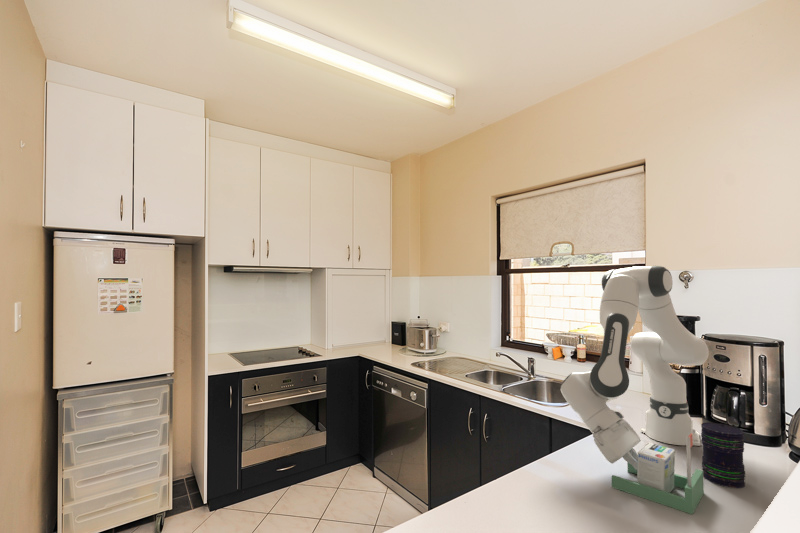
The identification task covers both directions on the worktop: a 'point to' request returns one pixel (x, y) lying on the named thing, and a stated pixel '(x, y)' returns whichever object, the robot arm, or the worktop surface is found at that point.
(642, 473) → the light bulb box
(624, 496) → the worktop surface
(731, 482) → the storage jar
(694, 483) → the putting bay
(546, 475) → the worktop surface
